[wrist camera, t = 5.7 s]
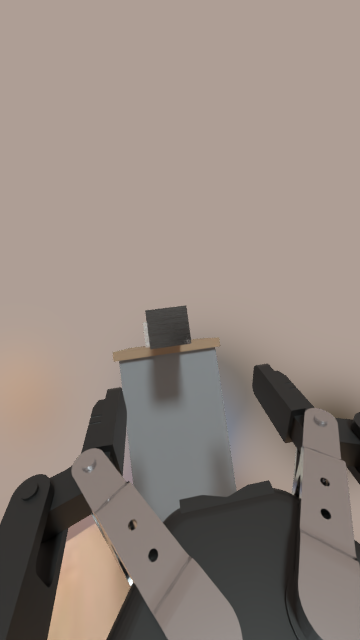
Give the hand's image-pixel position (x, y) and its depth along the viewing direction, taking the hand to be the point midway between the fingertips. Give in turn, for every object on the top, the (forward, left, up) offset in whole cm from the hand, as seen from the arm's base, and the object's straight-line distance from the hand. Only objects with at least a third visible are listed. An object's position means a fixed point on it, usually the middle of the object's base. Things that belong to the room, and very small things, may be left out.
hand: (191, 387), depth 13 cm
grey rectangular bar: (-8, +11, +2) cm, 13 cm away
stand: (-11, +15, -30) cm, 35 cm away
